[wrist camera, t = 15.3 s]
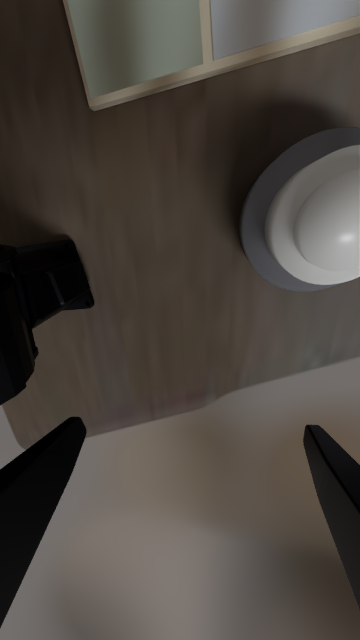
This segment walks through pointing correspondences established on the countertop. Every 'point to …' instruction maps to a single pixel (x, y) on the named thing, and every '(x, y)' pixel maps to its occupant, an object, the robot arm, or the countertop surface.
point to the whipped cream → (319, 220)
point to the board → (192, 39)
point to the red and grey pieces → (265, 192)
